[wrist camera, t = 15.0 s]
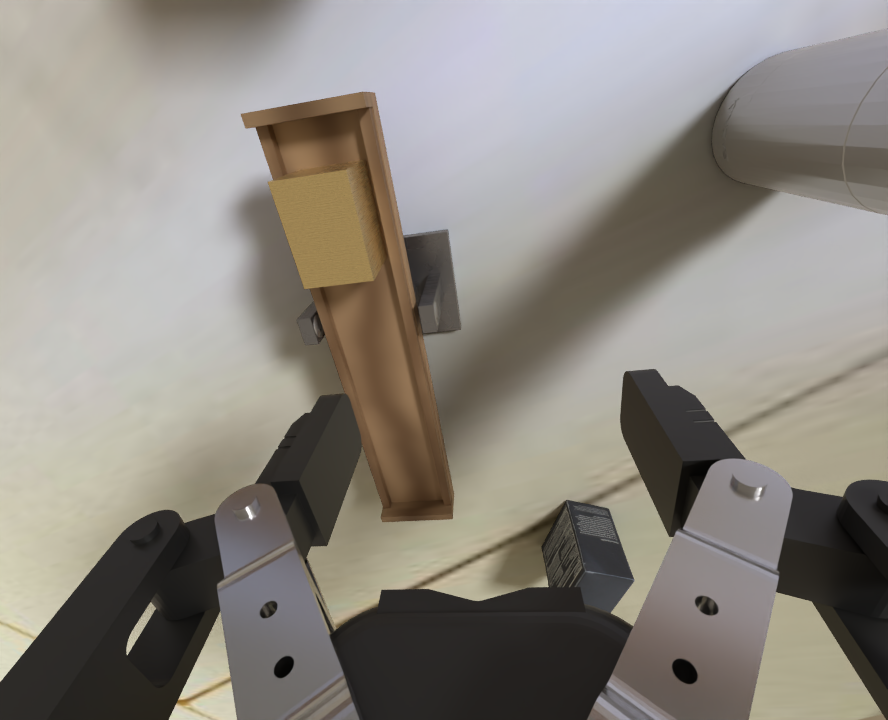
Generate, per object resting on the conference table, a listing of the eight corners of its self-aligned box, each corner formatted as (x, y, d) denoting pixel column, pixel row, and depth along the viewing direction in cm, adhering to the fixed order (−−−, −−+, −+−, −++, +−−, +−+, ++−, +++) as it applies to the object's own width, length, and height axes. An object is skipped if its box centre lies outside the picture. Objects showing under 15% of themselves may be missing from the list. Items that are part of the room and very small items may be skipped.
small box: (582, 555, 61) (601, 631, 52) (540, 547, 61) (551, 621, 52) (612, 508, 56) (638, 583, 47) (565, 498, 56) (582, 571, 46)
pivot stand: (447, 229, 39) (440, 256, 31) (461, 325, 44) (457, 369, 36) (307, 248, 41) (267, 278, 33) (335, 338, 46) (305, 383, 38)
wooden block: (346, 169, 25) (373, 280, 28) (365, 159, 29) (386, 257, 32) (267, 182, 25) (304, 289, 29) (297, 170, 30) (326, 264, 33)
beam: (374, 92, 28) (363, 91, 25) (454, 493, 49) (452, 519, 46) (264, 112, 29) (240, 114, 26) (387, 496, 50) (382, 522, 47)
